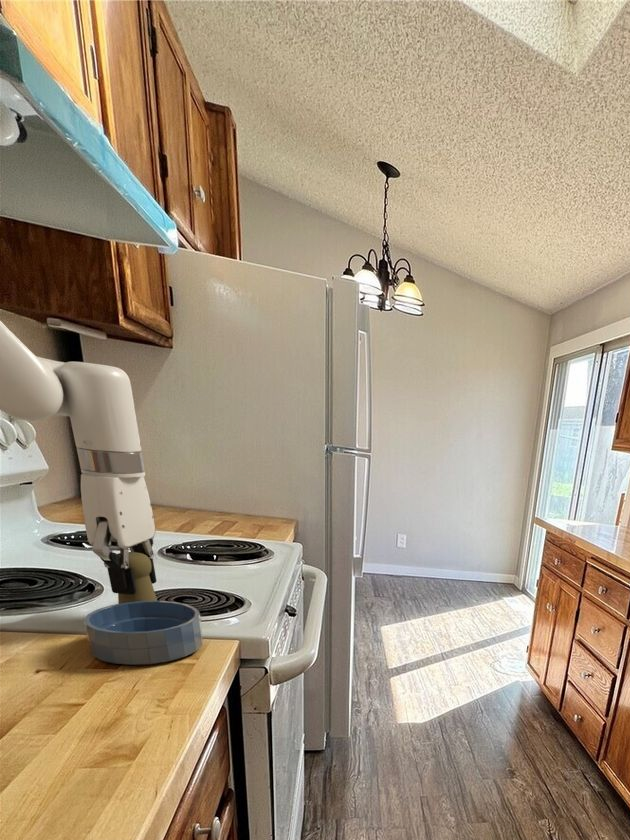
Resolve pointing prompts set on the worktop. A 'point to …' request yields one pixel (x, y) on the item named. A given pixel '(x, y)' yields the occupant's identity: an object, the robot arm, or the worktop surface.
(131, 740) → the worktop surface
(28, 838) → the worktop surface
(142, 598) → the olive pawn
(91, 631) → the bowl
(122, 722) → the worktop surface
